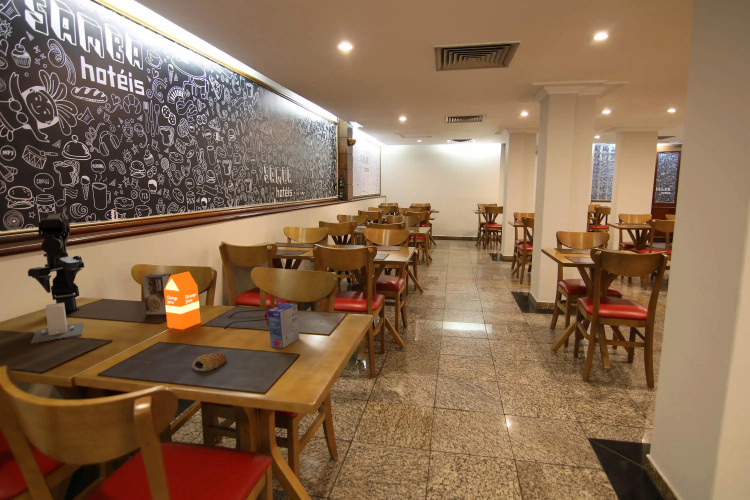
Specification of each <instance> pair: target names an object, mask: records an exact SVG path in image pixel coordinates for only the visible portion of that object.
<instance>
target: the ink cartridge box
mask: <svg viewBox="0 0 750 500" xmlns="http://www.w3.org/2000/svg"><path fill="white" fill-rule="evenodd" d="M280 302H281V303H280ZM274 303H275V304H276V306H275V307H274V308H270V310H268V315H267V319H268V329H269V330H268V331H269V339H270V340H269V341H270V346H271V347H272V348H273V347H274V348H280V349H284V348H286V347H287V346H289V345H290V344H292V343H294V342H295V341H297V340H299V339H300V328H299V313H298V304H297V303H289V302H284V299H283V298H280V299H278V300H275V301H274ZM279 303H280V304H279Z"/></svg>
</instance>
